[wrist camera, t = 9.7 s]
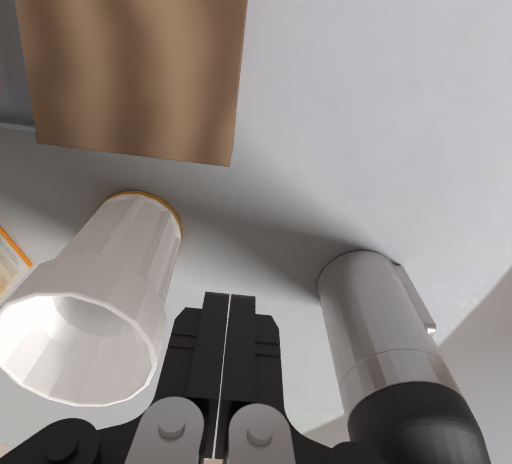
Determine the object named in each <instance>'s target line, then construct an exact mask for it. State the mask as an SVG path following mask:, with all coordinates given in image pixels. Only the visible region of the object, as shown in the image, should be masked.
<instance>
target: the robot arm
mask: <svg viewBox="0 0 512 464" xmlns="http://www.w3.org/2000/svg"><path fill="white" fill-rule="evenodd" d="M318 292H319V297H320V298H319V299H320V303H321V306H322V311H323V316H324V321H325V325H326V330H327V335H328V339H329V344H330V349H331V353H332V358H333V363H334V367H335V372H336V377H337V381H338V386H339V391H340V395H341V400H342V404H343V409H344V414H345V418H346V423H347V427H348V432H349V436H350V442H342V443H340V444H337V445H336V446H334V447H333V448H329V447H327V446H325V445H322V444H320V443H318V442H315V441H313V440H311V439H308V438H307V437H305V436H303V435H302V434H300V433H299V432H298V431H297V430H296V429H295V428H294V427H293V426H292V424H291V423H290V421H289V420H288V418H287V416H286V413H285V410H284V400H283V384H282V369H281V359H280V357H281V354H280V338H279V328H278V327H277V325H276V323H275V321H274V320H273V318H272V316H270V315H260V314H255V296H245V295H235V294H231V302H230V310H229V319H228V327H227V335H226V345H225V355H224V365H223V375H222V386H221V396H220V407H219V417H218V428H217V438H216V448H215V459H223V463H222V464H491V462H490V459H489V455H488V452H487V449H486V445H485V441H484V438H483V435H482V432H481V430H480V428H479V426H478V424H477V421H476V420H475V418H474V416H473V414H472V412H471V410H470V408H469V406H468V404H467V403H466V401H465V399H464V397H463V395H462V393H461V391H460V389H459V388H458V386H457V384H456V382H455V380H454V378H453V376H452V375H451V372H450V370H449V369H448V367H447V365H446V363H445V361H444V359H443V357H442V356H441V354H440V352H439V350H438V348H437V346H436V344H435V342H434V340H433V338H432V336H433V334H434V332H435V330H436V325H435V323H434V321H433V319H432V317H431V316H430V314H429V312H428V310H427V308H426V307H425V305H424V303H423V301H422V300H421V298H420V296H419V294H418V292H417V291H416V289H415V287H414V285H413V283H412V282H411V280H410V278H409V276H408V275H407V273H406V271H405V269H404V267H403V266H397V265H394V264H393V263H392V262H391V261H390V260H389V259H388V258H386V257H385V256H383V255H381V254H379V253H376V252H372V251H354V252H350V253H346V254H344V255H341V256H339V257H337V258H336V259H334V260H333V261H331V262H330V263H329V264H328V265H327V266H326V267H325V268H324V270H323V271H322V273H321V275H320V277H319V280H318ZM228 303H229V294H224V293H214V292H205V297H204V302H203V307H202V309H198V308H187V307H185V308H184V310H183V311H182V312H181V313H180V314H179V315H178V316H177V318H176V319H175V321H174V325H173V329H172V333H171V337H170V340H169V344H168V349H167V351H166V355H165V359H164V363H163V367H162V370H161V374H160V378H159V382H158V386H157V389H156V393H155V396H154V399H153V401H152V403H151V404H150V406H149V407H148V408H147V410H146V411H145V412H144V413H142V414H141V415H140V416H139V417H137V418H135V419H134V420H132V421H130V422H127V423H125V424H121V425H117V426H113V427H109V428H104V429H100V430H96V429H95V427H94V426H93V425H92V424H91V423H89V422H87V421H86V420H82V419H78V418H68V419H62V420H59V421H56V422H54V423H52V424H50V425H48V426H46V427H45V428H43V429H42V430H40V431H39V432H37V433H36V434H34V435H33V436H32V437H30V438H29V439H27V440H26V441H24V442H23V443H21V444H20V445H19V446H17V447H16V448H14V449H13V450H11V451H10V452H8V453H7V454H5V455H4V456H3V457H1V458H0V464H203V462H204V458H211V459H212V453H213V445H214V436H215V428H216V420H217V412H218V403H219V394H220V384H221V374H222V364H223V354H224V344H225V334H226V324H227V313H228Z"/></svg>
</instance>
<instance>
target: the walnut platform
mask: <svg viewBox="0 0 512 464" xmlns="http://www.w3.org/2000/svg"><path fill="white" fill-rule="evenodd" d="M247 1H248V0H15V6H16V13H17V19H18V25H19V31H20V38H21V44H22V50H23V56H24V62H25V69H26V75H27V81H28V87H29V94H30V100H31V106H32V112H33V119H34V125H35V131H36V137H37V143H39V144H47V145H56V146H64V147H72V148H80V149H88V150H96V151H104V152H112V153H120V154H128V155H136V156H145V157H153V158H161V159H169V160H177V161H185V162H193V163H201V164H209V165H217V166H225V167H229V166H230V160H231V155H232V148H233V138H234V128H235V118H236V109H237V99H238V89H239V79H240V69H241V60H242V50H243V40H244V30H245V20H246V11H247Z"/></svg>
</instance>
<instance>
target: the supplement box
mask: <svg viewBox="0 0 512 464" xmlns="http://www.w3.org/2000/svg"><path fill="white" fill-rule="evenodd" d="M31 266H32V264H31V262H30V261H29V260H28V259H27V258H26V257H25V255H24V254H23V253H22V252H21V251H20V250H19V248H18V247H17V246H16V245H15V244H14V243H13V241H12V240H11V239H10V238H9V237H8V235H7V234H6V233H5V232H4V231H3V230H2V229H1V227H0V303H1V302H2V301H3V300H4V298H5V297H6V296H7V295H8V294H9V293H10V291H11V290H12V289H13V288H14V287H15V285H16V284H17V283H18V282H19V281H20V279H21V278H22V277H23V276H24V275H25V273H26V272H27V271H28V270H29V268H30V267H31Z"/></svg>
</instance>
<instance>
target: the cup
mask: <svg viewBox="0 0 512 464" xmlns="http://www.w3.org/2000/svg"><path fill="white" fill-rule="evenodd" d="M181 239H182V230H181V224H180V221H179V219H178V217H177V215H176V213H175V212H174V210H173V208H171V207H170V206H169V205H168V204H167V203H165V202H164V201H163V200H161V199H160V198H158V197H156V196H154V195H151V194H149V193H146V192H143V191H124V192H121V193H118V194H115V195H113V196H110V197H109V198H108V199H107V200H106V201H105V202H104V203H103V204H102V205H101V207H100V208H99V209H98V210H97V211H96V213H95V214H94V215H93V216H92V217H91V218H90V219H89V221H88V222H87V223H86V224H85V225H84V226H83V228H82V229H81V230H80V231H79V232H78V233H77V234H76V236H75V237H74V238H73V239H72V240H71V241H70V242H69V244H68V245H67V246H66V247H65V248H64V249H63V250H62V252H61V253H60V254H59V255H58V256H57V257H56V258H55V259H53V260H50V261H47V262H44V263H42V264H40V265H39V266H38V267H37V268H36V269H35V270H34V271H33V272H32V273H31V274H30V276H29V277H28V278H27V279H26V280H25V281H24V282H23V283H22V284H21V285H20V286H19V288H18V289H17V290H16V291H15V292H14V293H13V294H12V295H11V296H10V297H9V298H8V299H7V301H6V302H5V303H4V304H3V305H2V306H1V307H0V368H1V369H2V370H3V371H5V372H6V373H7V374H8V375H9V376H10V377H11V378H12V379H13V380H14V381H15V382H16V383H17V384H18V385H20V386H22V387H24V388H26V389H28V390H30V391H32V392H34V393H36V394H38V395H40V396H42V397H44V398H46V399H49V400H53V401H57V402H61V403H65V404H69V405H73V406H107V405H111V404H115V403H118V402H122V401H126V400H129V399H131V398H132V397H133V396H135V395H136V394H137V393H139V392H140V391H141V390H143V389H144V388H145V387H146V386H148V385H149V383H150V380H151V378H152V376H153V373H154V371H155V369H156V367H157V363H158V359H159V355H160V350H161V346H162V342H163V338H164V333H165V329H166V325H167V321H166V315H165V309H164V304H165V300H166V297H167V293H168V289H169V285H170V281H171V277H172V274H173V270H174V266H175V262H176V258H177V254H178V251H179V247H180V243H181Z"/></svg>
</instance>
